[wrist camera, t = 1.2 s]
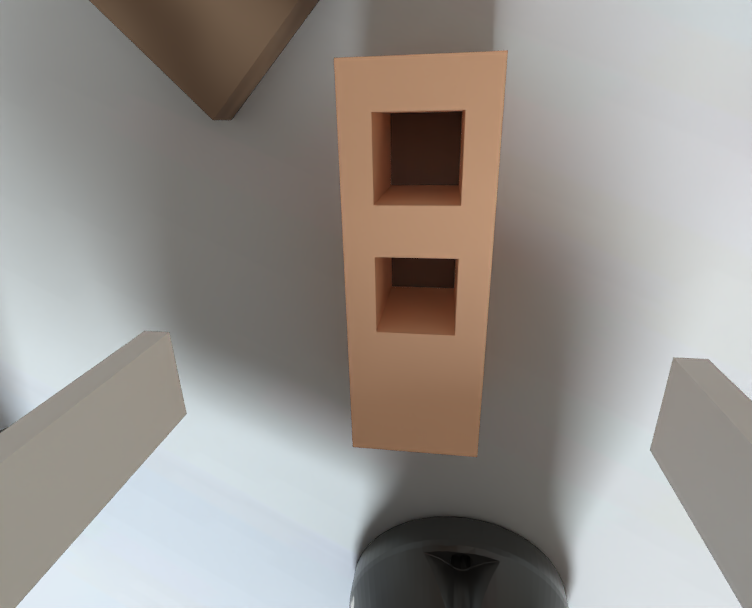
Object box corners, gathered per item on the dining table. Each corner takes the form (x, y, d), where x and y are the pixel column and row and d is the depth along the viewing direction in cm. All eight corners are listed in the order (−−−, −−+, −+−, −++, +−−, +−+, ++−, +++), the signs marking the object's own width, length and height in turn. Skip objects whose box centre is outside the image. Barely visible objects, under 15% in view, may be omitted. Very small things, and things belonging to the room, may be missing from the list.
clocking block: (471, 388, 27) (477, 457, 22) (371, 382, 28) (352, 446, 23) (492, 68, 21) (507, 50, 16) (362, 73, 22) (333, 58, 16)
